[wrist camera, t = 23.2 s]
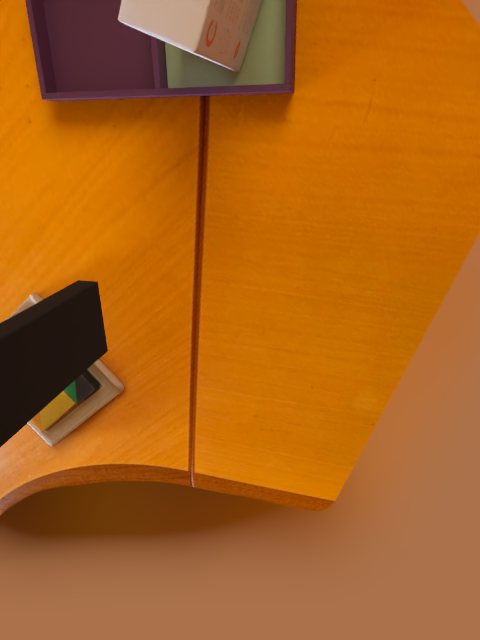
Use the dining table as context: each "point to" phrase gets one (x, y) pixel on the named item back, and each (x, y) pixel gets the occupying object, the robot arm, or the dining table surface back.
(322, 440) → the dining table surface
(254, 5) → the small box
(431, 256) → the dining table surface
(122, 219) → the dining table surface
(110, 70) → the purple divided tray
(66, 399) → the wooden puzzle
